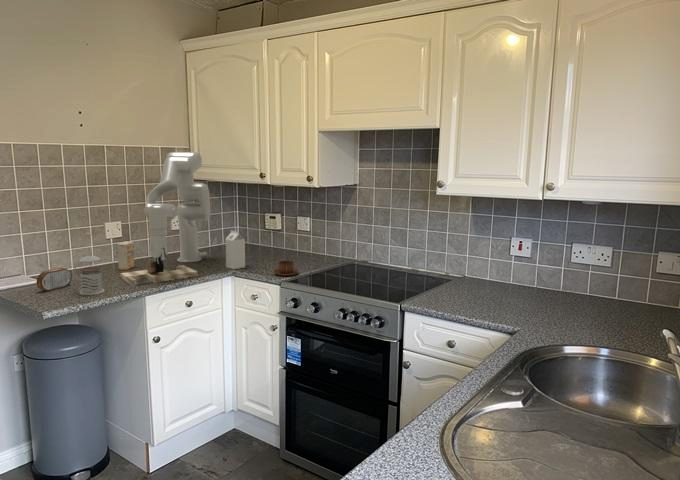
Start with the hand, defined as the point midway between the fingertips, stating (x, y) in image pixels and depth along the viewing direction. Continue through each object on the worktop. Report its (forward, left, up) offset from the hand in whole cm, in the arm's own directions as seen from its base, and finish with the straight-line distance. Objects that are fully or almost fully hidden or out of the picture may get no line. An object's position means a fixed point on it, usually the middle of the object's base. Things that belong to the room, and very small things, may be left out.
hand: (159, 271), depth 230 cm
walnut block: (+1, -3, -1) cm, 4 cm away
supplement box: (+5, -33, -4) cm, 34 cm away
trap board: (-1, -5, -4) cm, 6 cm away
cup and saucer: (-53, +24, -4) cm, 59 cm away
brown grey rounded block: (+41, -11, -4) cm, 42 cm away
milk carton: (-40, -3, -4) cm, 41 cm away
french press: (+31, +3, -4) cm, 31 cm away
